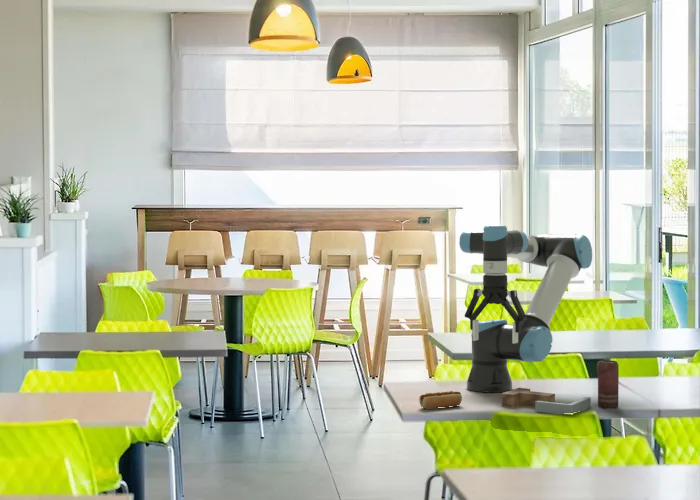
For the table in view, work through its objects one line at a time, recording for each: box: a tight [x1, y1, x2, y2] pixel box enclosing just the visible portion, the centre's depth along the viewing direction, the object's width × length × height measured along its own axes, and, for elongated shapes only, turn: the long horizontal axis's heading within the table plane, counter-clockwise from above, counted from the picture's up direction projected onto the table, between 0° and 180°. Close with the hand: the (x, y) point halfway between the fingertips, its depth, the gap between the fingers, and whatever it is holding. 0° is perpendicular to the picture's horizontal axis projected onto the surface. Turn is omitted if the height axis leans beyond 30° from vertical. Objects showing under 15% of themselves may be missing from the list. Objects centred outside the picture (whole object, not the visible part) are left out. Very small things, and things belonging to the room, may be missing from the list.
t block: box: [501, 387, 556, 408], centre depth 329 cm, size 14×12×4 cm
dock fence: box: [534, 396, 592, 415], centre depth 322 cm, size 12×15×3 cm
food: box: [418, 390, 463, 409], centre depth 327 cm, size 14×6×5 cm, turn 114°
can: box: [596, 359, 620, 409], centre depth 325 cm, size 6×6×14 cm
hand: (495, 341), depth 336 cm, fingers open, 13 cm apart
